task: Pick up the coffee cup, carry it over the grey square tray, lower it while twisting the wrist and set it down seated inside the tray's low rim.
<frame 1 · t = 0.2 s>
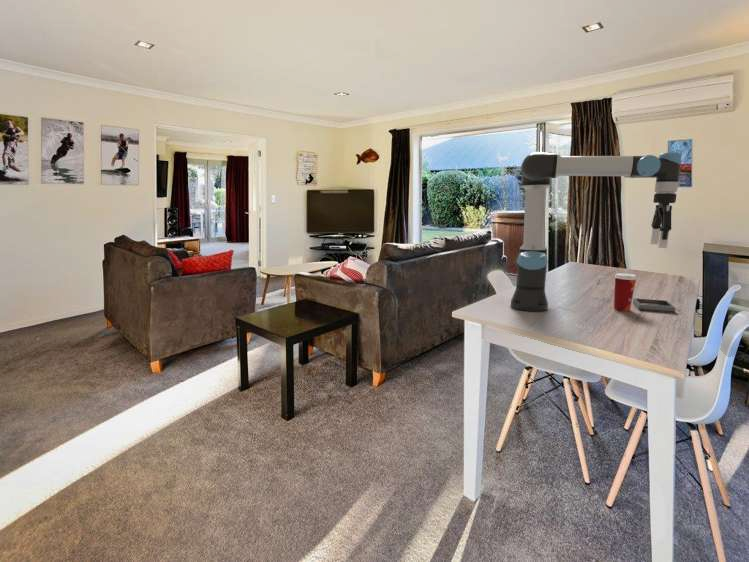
hand: (658, 246, 180), 27 cm above the table, fingers open, 13 cm apart
grey square tray: (652, 307, 190), on the table
coffee cup: (621, 309, 187), on the table
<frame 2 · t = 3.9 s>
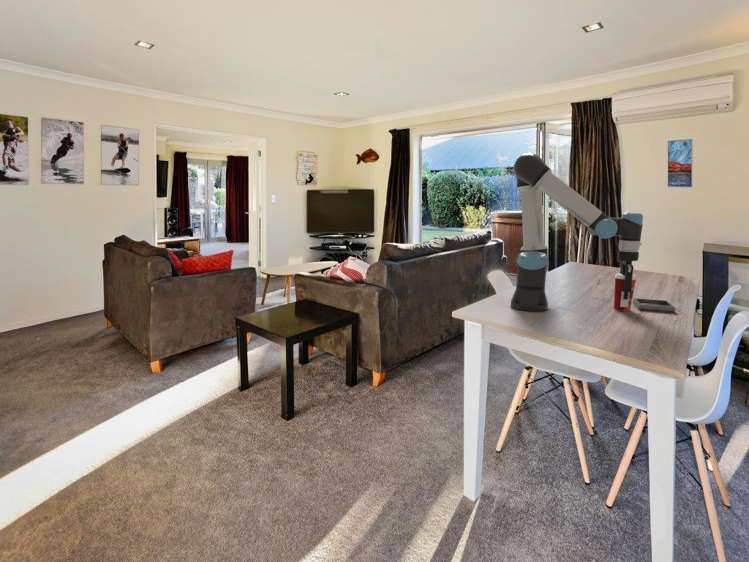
hand: (622, 304, 187), 2 cm above the table, fingers closed on coffee cup, 7 cm apart
coffee cup: (621, 309, 187), on the table, touching gripper
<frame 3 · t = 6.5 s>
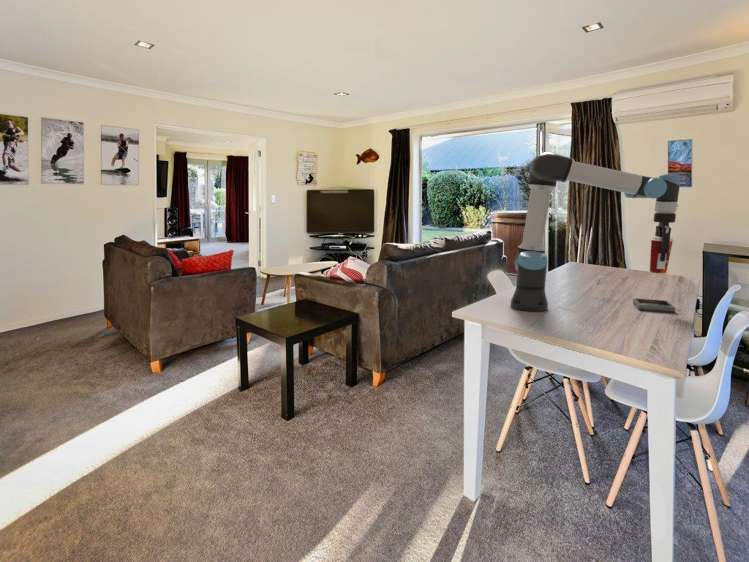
hand: (658, 267, 187), 18 cm above the table, fingers closed on coffee cup, 7 cm apart
coffee cup: (657, 272, 187), point 15 cm above the table, touching gripper
when the fingers open (4 cm above the table, at t = 9.5 s): coffee cup drops 1 cm, resting on grey square tray.
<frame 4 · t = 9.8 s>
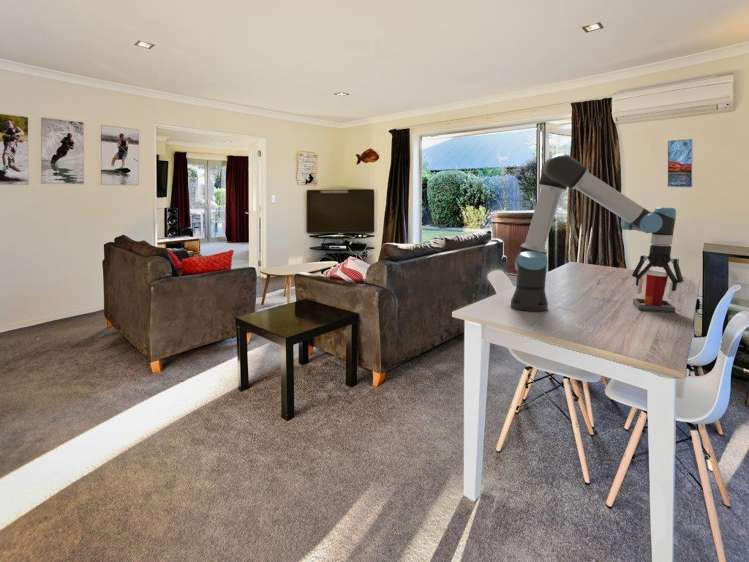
hand: (654, 295, 189), 5 cm above the table, fingers open, 11 cm apart
coffee cup: (652, 306, 190), point 1 cm above the table, touching grey square tray
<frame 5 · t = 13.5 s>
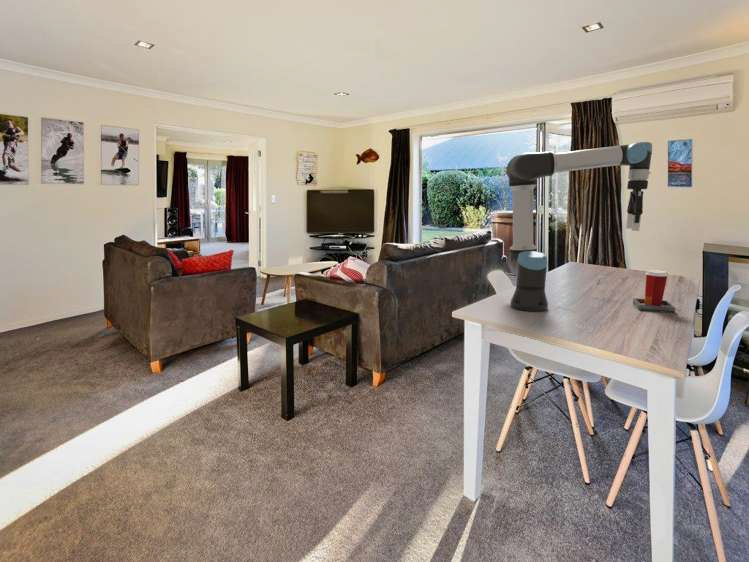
hand: (632, 229, 194), 33 cm above the table, fingers open, 13 cm apart
nothing on the table moved.
at the end: coffee cup inside the target area on the grey square tray (0.2 cm from its centre), point 0.7 cm above the grey square tray's base; coffee cup tilted 0°; the gripper is holding nothing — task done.
